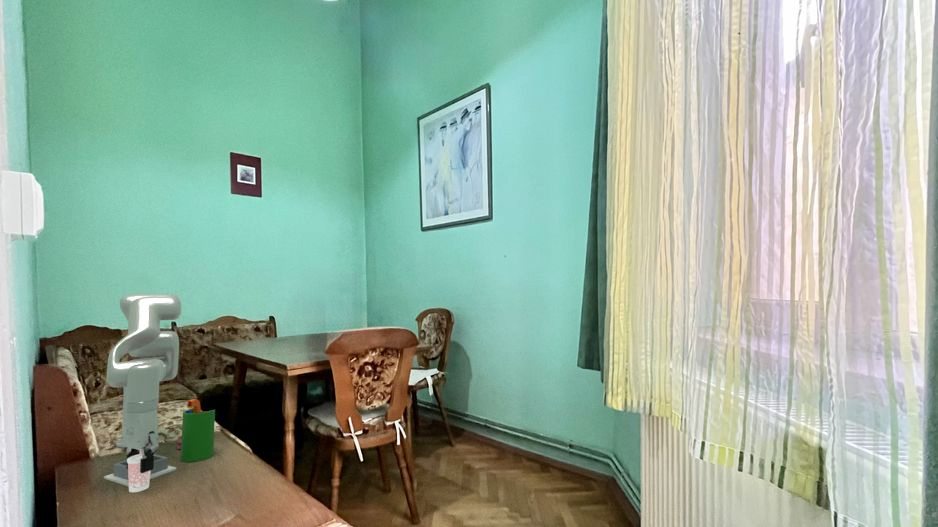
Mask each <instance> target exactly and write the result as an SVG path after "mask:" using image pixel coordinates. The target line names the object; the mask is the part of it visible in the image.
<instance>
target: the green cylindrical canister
mask: <svg viewBox="0 0 938 527" xmlns="http://www.w3.org/2000/svg"><path fill="white" fill-rule="evenodd" d="M186 406H187V408H189V409H186V410H184V411H183V412H182V423H181V425H182V426H181V435H182V442H181V449H180V461H181V462H183V463H184V462H186V463H188V462H189V463H191V462H198V461H204V460H207V459H209V458H212V457H214V445H215V425H216V424H215V423H216V422H215V421H216V409H211V410H209V411H206V410H205V411H204V410H203V411H202V410H201V402H200V400H199V399H198V398H197V399H196V398H195V399H194V398H192V399H190V400H187V405H186Z"/></svg>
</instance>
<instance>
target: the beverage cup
mask: <svg viewBox="0 0 938 527" xmlns="http://www.w3.org/2000/svg"><path fill="white" fill-rule="evenodd" d="M139 451H140V454H137V455H134V456H131V457H129V458H128V459H127V458H126V460H127V463H128V478H129V487H128V492H129V493H138V492H142V491H144V490H147V489H148V488H149V487H150V480H151V479H150V473H151V470H150V471H147V472H144V473H140V461H141V459H142V453H141V449H140V450H139Z"/></svg>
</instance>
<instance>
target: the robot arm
mask: <svg viewBox="0 0 938 527" xmlns="http://www.w3.org/2000/svg"><path fill="white" fill-rule="evenodd" d="M119 309H120V310H121V313H122V314H123V315H124V317H125V318H126V320H127V335H125V336H124V337H123V338H121V339H120V340H119V341H118V342H116V344H115V345H114V346H113V347H112V349H111V350H110V352H109V355H108V358H107V364H106V365H107V366H106V367H107V368H106V383H107V385H108V386H110V387H111V388H117V389H118V388H123V399H122V400H123V402H122V403H123V404H122V421H121V423H122V424H121V425H122V426H121V431H120V435H121V439H120V440H117V441H116V443H115V447H117V448H123V449H124V448H126V451H125V454H126V460H127V459H128V458H129V457H131V456H134V455H137V454H140V449H141V453H142V459H141V461H140V473H144V472H147V471H150V470H153V468H154V455H155V454H156V452H157V450H158V449H159V445H160V444H159V440H158V439H159V416H158V410H159V400H160V399H159V398H160V382H167V381H171V380H174V379H175V378H176V377H177V375H178V370H179V354H180V339H179V335H178V333H177V332H175V331H173V330H164V331H163V330H162V331H161V321H173V320H174V321H175V320H177V319H179V318H180V317H181V314H182V313H181V312H182V303H181V299H180V298H179V297H178V295H177V294H174V293H135V294H134V293H132V294H126V295H124V296H122V297H121V298H120V301H119ZM127 354H128V355H129V356H130V357H132V358H136V359H131V360H128V361H127V360H125V361H120V360H121V359H122V358H123V357H124V356H125V355H127ZM146 449H147V450H146ZM126 468H127V469H128V463H127V466H126Z"/></svg>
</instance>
